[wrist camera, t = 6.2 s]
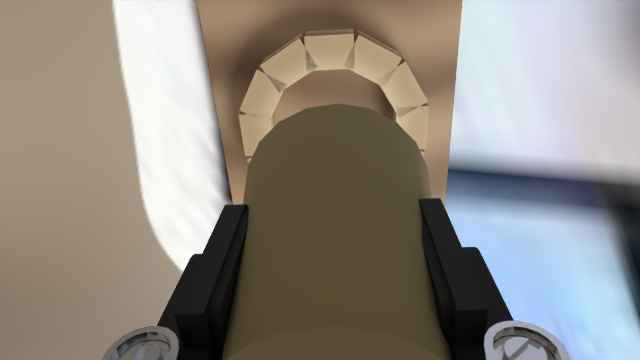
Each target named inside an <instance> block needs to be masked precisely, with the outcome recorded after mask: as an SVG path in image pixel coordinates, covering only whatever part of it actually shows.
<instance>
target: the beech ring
mask: <svg viewBox="0 0 640 360" xmlns="http://www.w3.org/2000/svg"><path fill="white" fill-rule="evenodd" d="M336 69H350V70H352V71H354V72H355V73H357V74H359V75H361V76H363V77H365V78H367V79H369V80H371V81H373V82H375V83H377V84H379V85H380V87H381V88H382V90H383V92H384V93H385V95H386V97H387V98H388V100H389V102H390V103H391V105H392V107H393V121H395V122H397V123H398V124H399V125H400V126H401V127H402V128H403V129H404V130H405V131H406V132H407V134H408V135H409V136H410V137H411V138H412V139H413V140H414V141H415V142H416V143H417V145H418V147H419V149H420V152H421V154H422V156H424V154H425V152H424V149H427V134H428V117H429V105H428V103H427V102H428V100H427V99H426V97H425V95H424V93H423V91H422V90H421V88H420V86H419V84H418V83H417V81H416V79H415V77H414V75H413V74H412V72H411V70H410V68H409V67H408V65H407V63H406V61H405V60H404V58H403V57H402V55H400V54H399V52H398V51H396V50H394V49H393V48H391V47H389V46H387V45H385V44H383V43H381V42H380V41H378V40H376V39H374V38H372V37H370V36H368V35H367V34H365V33H363V32H361V31H359V30H357V32H356V34H355V36H354V31H353V29H338V30H321V31H306V33H305V36H303V34H302V33H301V34H300V35H298V36H297V37H295V38H294V39H292V40H291V41H289V42H288V43H287V44H285V45H284V46H282V47H281V48H279V49H278V50H276V51H275V52H274V53H272V54H271V55H269V56H268V57H266V58H265V59H264V60H263V62H262V63H261V64H260V66H259V67H258V68H257V70H256V72H255V75H254V77H253V79H252V82H251V84H250V86H249V89H248V91H247V93H246V96H245V98H244V100H243V103H242V105H241V107H240V111H241V112H240V113H239V120H240V127H241V133H242V139H243V146H244V152H245V156H248V159H247V161H248V162H249V163H250V160H251V158H252V156H253V154H254V152H255V150H256V148H257V145H258V143H259V142H260V141H261V139H262V138H263V137H264V136H265V135H266V134H267V133H268V132H269V131H270V130H271V129H272V128H273V127H274V126H275V125H276V118H275V108H276V106H277V104H278V102H279V100H280V97H281V95H282V93H283V91H284V89H286V88H287V87H289V86H290V85H292V84H293V83H295V82H297V81H298V80H300V79H301V78H303V77H304V76H306V75H307V74H309V73H310V72H312V71H317V70H336Z"/></svg>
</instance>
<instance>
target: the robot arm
mask: <svg viewBox="0 0 640 360" xmlns="http://www.w3.org/2000/svg"><path fill="white" fill-rule="evenodd" d="M419 202H420V206H421V209H422V243H423V248H424V252H425V256H426V261H427V265H428V270H429V274H430V279H431V283H432V288H433V292H434V297H435V302H436V307H437V312H438V317H439V322H440V328H441V331H442V333H443V335H444V337H445V339H446V341H447V342H448V344H449V346H450V348H451V353H452V360H571V358H570V356H569V354H568V352H567V350H566V348H565V347H564V345H563V344H562V343H561V342H560V341H559V340H558V339H557V338H556V337H555V336H554V335H552V334H551V333H549V332H548V331H546V330H545V329H543V328H541V327H538V326H536V325H534V324H531V323H526V322H522V321H514V320H513V318H512V316H511V314H510V312H509V310H508V308H507V306H506V304H505V302H504V300H503V298H502V296H501V294H500V292H499V290H498V288H497V286H496V284H495V282H494V280H493V277H492V275H491V273H490V271H489V269H488V267H487V265H486V263H485V261H484V259H483V257H482V255H481V253H480V251H479V250H478V248H476V247H462V246H461V244H460V242H459V240H458V237H457V235H456V233H455V230H454V228H453V226H452V224H451V221H450V219H449V217H448V214H447V212H446V210H445V207H444V205H443V203H442V201H441V199H440V198H423V199H419ZM248 215H249V210H248V205H247V204H235V205H225V206H224V208H223V210H222V213H221V215H220V217H219V219H218V221H217V223H216V225H215V228H214V230H213V232H212V234H211V236H210V238H209V241H208V243H207V245H206V247H205V249H204V251H203V253H202V254H194V255H192V257H191V258H190V260H189V262H188V264H187V266H186V268H185V270H184V272H183V274H182V276H181V278H180V280H179V282H178V284H177V286H176V288H175V290H174V292H173V294H172V296H171V298H170V300H169V302H168V304H167V306H166V308H165V310H164V312H163V315H162V316H161V318H160V320H159V322H158V324H157V326H148V327H144V328H140V329H136V330H134V331H132V332H130V333H128V334H126V335H124V336H123V337H121V338H120V339H118V340H117V341H116V342H114V343H113V345H112V346H111V347H110V348H109V349H108V350H107V351H106V353H105V354H104V356H103V358H102V360H222V356H223V348H224V342H225V337H226V332H227V327H228V322H229V317H230V312H231V307H232V302H233V297H234V292H235V287H236V282H237V277H238V272H239V267H240V262H241V257H242V252H243V247H244V242H245V237H246V232H247V227H248Z"/></svg>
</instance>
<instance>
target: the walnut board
mask: <svg viewBox="0 0 640 360" xmlns="http://www.w3.org/2000/svg"><path fill="white" fill-rule="evenodd" d="M197 4H198V9H199V15H200V20H201V26H202V32H203V37H204V43H205V48H206V54H207V60H208V65H209V71H210V76H211V82H212V88H213V93H214V99H215V105H216V110H217V116H218V121H219V127H220V133H221V138H222V144H223V149H224V155H225V161H226V166H227V172H228V177H229V183H230V189H231V194H232V200H233V205H235V204H243V199H244V191H245V184H246V176H247V169H248V165H249V162H248V161H247V159H248V156H245V152H244V146H243V139H242V133H241V127H240V120H239V113H240V112H241V111H240V107H241V105H242V103H243V100H244V98H245V96H246V93H247V91H248V89H249V86H250V84H251V82H252V79H253V77H254V75H255V72H256V70H257V68H258V67H259V66H260V64H261V63H262V62H263V60H264V59H265V58H266V57H268V56H269V55H271V54H272V53H274V52H275V51H276V50H278V49H279V48H281V47H282V46H284V45H285V44H287V43H288V42H289V41H291V40H292V39H294V38H295V37H297V36H298V35H300V34H301V33H302V34H303V36H305V33H306V31H321V30H338V29H353V31H354V36H355V34H356V32H357V30H359V31H361V32H363V33H365V34H367V35H368V36H370V37H372V38H374V39H376V40H378V41H380V42H381V43H383V44H385V45H387V46H389V47H391V48H393V49H394V50H396V51H398V52H399V54H400V55H402V57H403V58H404V60H405V61H406V63H407V65H408V67H409V68H410V70H411V72H412V74H413V75H414V77H415V79H416V81H417V83H418V84H419V86H420V88H421V90H422V91H423V93H424V95H425V97H426V99H427V100H428V102H427V103H428V105H429V117H428V134H427V149H424V152H425V154H424V156H423V158H424V161H425V163H426V165H427V167H428V174H429V182H430V190H431V198H440V199H441V201H442V203H443V205H445V197H446V185H447V173H448V162H449V150H450V138H451V127H452V115H453V103H454V92H455V80H456V68H457V57H458V45H459V33H460V22H461V10H462V0H197ZM337 103H339V104H345V105H352V106H358V107H364V108H370V109H372V110H373V111H375V112H377V113H379V114H381V115H383V116H385V117H387V118H389V119H391V120H393V107H392V105H391V103H390V102H389V100H388V98H387V97H386V95H385V93H384V92H383V90H382V88H381V87H380V85H379V84H377V83H375V82H373V81H371V80H369V79H367V78H365V77H363V76H361V75H359V74H357V73H355V72H354V71H352V70H350V69H336V70H317V71H312V72H310V73H309V74H307V75H306V76H304V77H303V78H301V79H300V80H298V81H297V82H295V83H293V84H292V85H290V86H289V87H287V88H286V89H284V91H283V93H282V95H281V97H280V100H279V102H278V104H277V106H276V108H275V118H276V124H277V123H278V122H279V121H281V120H283V119H285V118H288V117H290V116H292V115H294V114H296V113H298V112H300V111H302V110H304V109H306V108H310V107H317V106H323V105H330V104H337Z"/></svg>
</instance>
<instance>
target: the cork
mask: <svg viewBox="0 0 640 360" xmlns="http://www.w3.org/2000/svg"><path fill="white" fill-rule="evenodd" d="M423 198H431V190H430V182H429V174H428V167H427V165H426V163H425V161H424V158H423V156H422V154H421V152H420V149H419V147H418V145H417V143H416V142H415V141H414V140H413V139H412V138H411V137H410V136H409V135H408V134H407V132H406V131H405V130H404V129H403V128H402V127H401V126H400V125H399V124H398V123H397V122H395V121H393V120H391V119H389V118H387V117H385V116H383V115H381V114H379V113H377V112H375V111H373V110H372V109H370V108H364V107H358V106H352V105H345V104H339V103H337V104H330V105H323V106H317V107H310V108H306V109H304V110H302V111H300V112H298V113H296V114H294V115H292V116H290V117H288V118H285V119H283V120H281V121H279V122H278V123H277V124H276V125H275V126H274V127H273V128H272V129H271V130H270V131H269V132H268V133H267V134H266V135H265V136H264V137H263V138H262V139H261V141H260V142H259V143H258V145H257V148H256V150H255V152H254V154H253V156H252V158H251V160H250V163H249V165H248V169H247V176H246V184H245V191H244V199H243V204H247V205H248V210H249V215H248V227H247V232H246V237H245V242H244V247H243V252H242V257H241V262H240V267H239V272H238V277H237V282H236V287H235V292H234V297H233V302H232V307H231V312H230V317H229V322H228V327H227V332H226V337H225V342H224V348H223V356H222V360H452V353H451V348H450V346H449V344H448V342H447V341H446V339H445V337H444V335H443V333H442V331H441V328H440V322H439V317H438V312H437V307H436V302H435V297H434V292H433V288H432V283H431V279H430V274H429V270H428V265H427V261H426V256H425V252H424V248H423V243H422V209H421V206H420V202H419V199H423Z"/></svg>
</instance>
